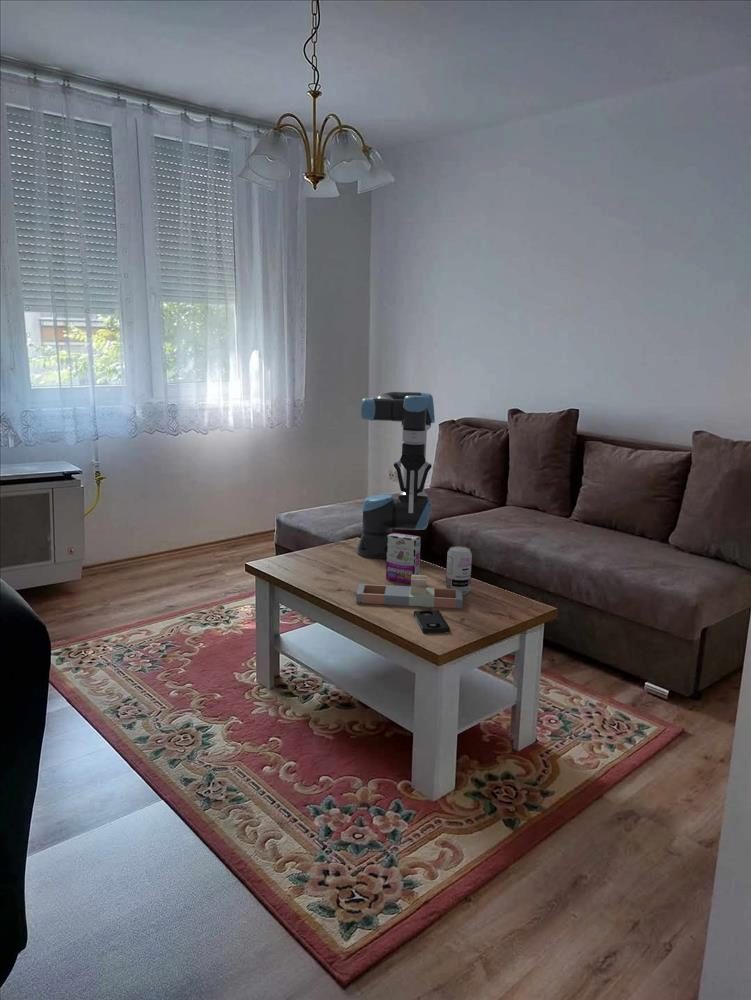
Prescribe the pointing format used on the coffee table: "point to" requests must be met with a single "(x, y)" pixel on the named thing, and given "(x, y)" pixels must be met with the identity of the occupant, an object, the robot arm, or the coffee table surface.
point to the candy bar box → (402, 557)
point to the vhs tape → (431, 621)
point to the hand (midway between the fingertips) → (410, 512)
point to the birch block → (418, 584)
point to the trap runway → (409, 596)
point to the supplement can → (459, 569)
